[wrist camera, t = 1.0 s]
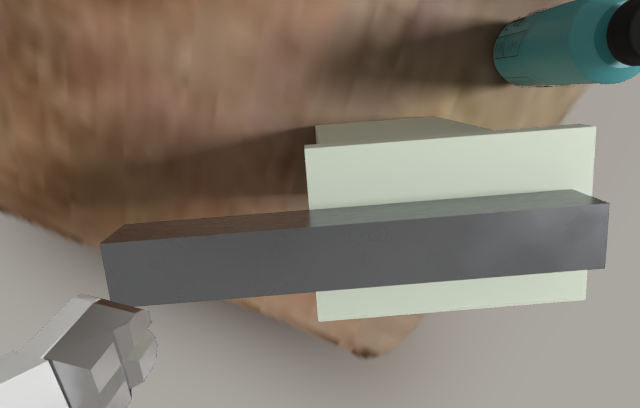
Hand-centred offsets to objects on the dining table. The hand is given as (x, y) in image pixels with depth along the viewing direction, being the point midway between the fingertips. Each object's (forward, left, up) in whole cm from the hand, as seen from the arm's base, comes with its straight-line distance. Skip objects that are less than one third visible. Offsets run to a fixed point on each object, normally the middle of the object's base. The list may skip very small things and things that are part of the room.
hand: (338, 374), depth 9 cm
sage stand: (0, +7, -41) cm, 41 cm away
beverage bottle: (-14, +17, -41) cm, 46 cm away
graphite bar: (+1, +2, -15) cm, 15 cm away
